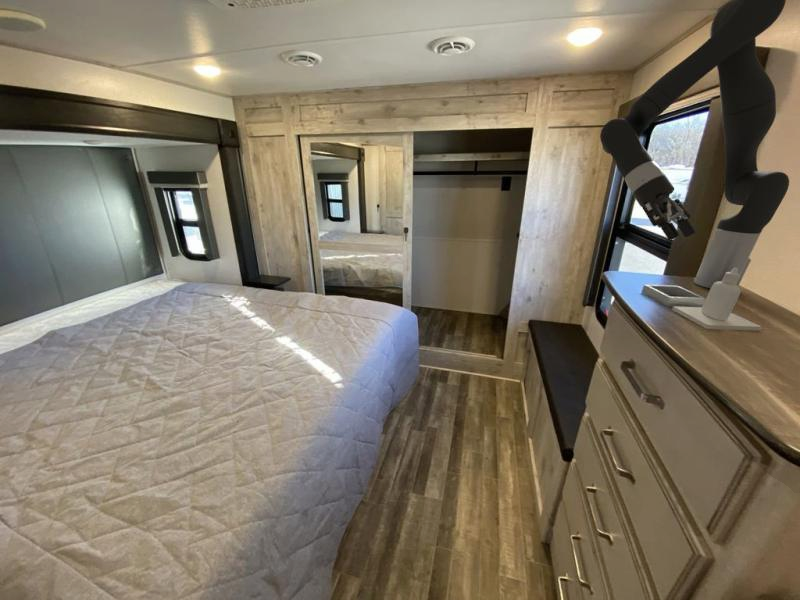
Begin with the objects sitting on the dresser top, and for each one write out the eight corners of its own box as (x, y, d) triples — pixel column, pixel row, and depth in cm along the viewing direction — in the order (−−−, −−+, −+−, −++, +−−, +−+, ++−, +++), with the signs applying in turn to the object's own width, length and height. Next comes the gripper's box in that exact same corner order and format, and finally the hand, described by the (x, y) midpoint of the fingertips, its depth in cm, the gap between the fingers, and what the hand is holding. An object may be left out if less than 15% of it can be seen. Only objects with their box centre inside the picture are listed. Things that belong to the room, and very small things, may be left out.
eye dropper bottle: (723, 314, 76) (747, 267, 71) (727, 322, 72) (752, 273, 67) (700, 309, 78) (720, 263, 74) (702, 317, 74) (724, 268, 70)
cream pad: (719, 311, 80) (721, 308, 80) (759, 330, 71) (761, 326, 71) (672, 309, 80) (673, 306, 80) (706, 328, 71) (707, 324, 71)
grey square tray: (674, 293, 91) (677, 285, 90) (703, 307, 82) (707, 298, 81) (641, 292, 91) (644, 284, 90) (666, 306, 82) (669, 297, 81)
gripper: (648, 173, 76) (686, 230, 72) (676, 174, 82) (713, 225, 78) (619, 194, 82) (652, 247, 78) (647, 193, 89) (680, 242, 84)
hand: (683, 236), depth 78 cm, fingers open, 8 cm apart
